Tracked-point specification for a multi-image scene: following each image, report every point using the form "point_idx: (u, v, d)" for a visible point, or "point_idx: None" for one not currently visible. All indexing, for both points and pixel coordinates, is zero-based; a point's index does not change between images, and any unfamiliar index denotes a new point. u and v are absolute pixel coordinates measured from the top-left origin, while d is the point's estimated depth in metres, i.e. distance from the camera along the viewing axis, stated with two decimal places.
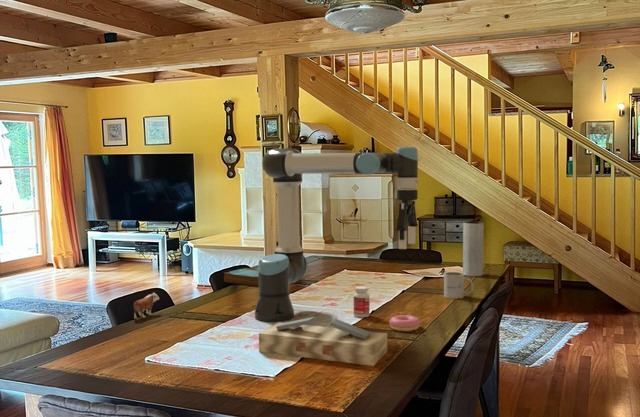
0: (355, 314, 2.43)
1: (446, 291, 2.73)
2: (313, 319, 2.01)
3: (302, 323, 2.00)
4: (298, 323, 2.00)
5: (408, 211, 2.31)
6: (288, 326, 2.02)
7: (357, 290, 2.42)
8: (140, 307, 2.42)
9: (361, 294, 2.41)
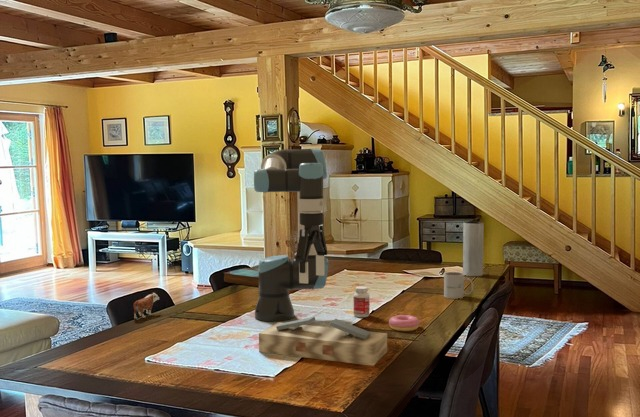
0: (355, 314, 2.43)
1: (446, 291, 2.73)
2: (313, 319, 2.01)
3: (302, 323, 2.00)
4: (298, 323, 2.00)
5: (311, 238, 1.95)
6: (288, 326, 2.02)
7: (357, 290, 2.42)
8: (140, 307, 2.42)
9: (360, 294, 2.41)
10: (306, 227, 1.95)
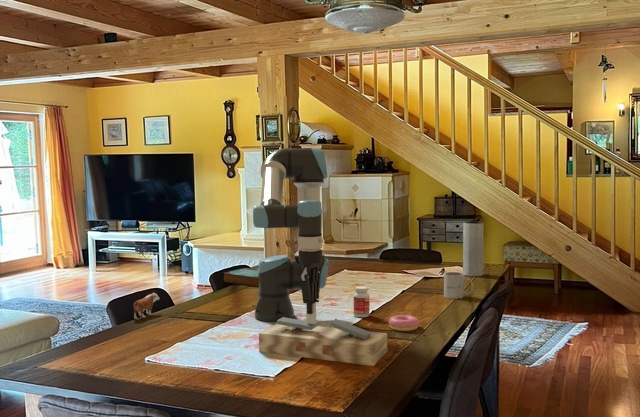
0: (355, 314, 2.43)
1: (446, 291, 2.73)
2: (315, 325, 2.01)
3: (303, 327, 2.00)
4: (299, 325, 2.00)
5: (312, 278, 1.97)
6: (289, 324, 2.01)
7: (357, 290, 2.42)
8: (140, 307, 2.42)
9: (360, 294, 2.41)
10: (305, 265, 1.96)
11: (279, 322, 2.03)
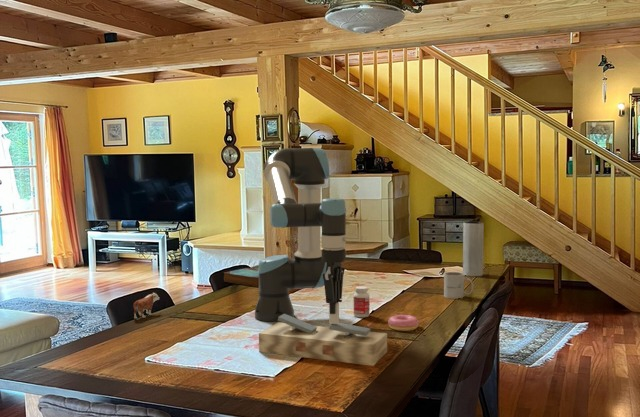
0: (355, 314, 2.43)
1: (446, 291, 2.73)
2: (315, 329, 2.01)
3: (303, 329, 2.00)
4: (300, 327, 2.00)
5: (335, 278, 1.94)
6: (289, 323, 2.01)
7: (357, 290, 2.42)
8: (140, 307, 2.42)
9: (361, 294, 2.41)
10: (328, 264, 1.93)
11: (280, 319, 2.02)
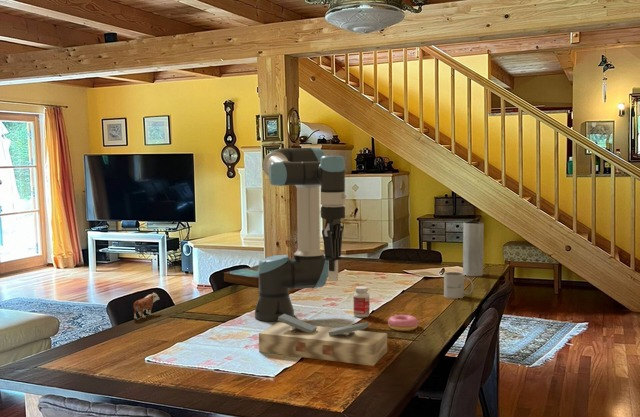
0: (355, 314, 2.43)
1: (446, 291, 2.73)
2: (315, 329, 2.01)
3: (303, 329, 2.00)
4: (300, 327, 2.00)
5: (334, 235, 1.94)
6: (289, 323, 2.01)
7: (357, 290, 2.42)
8: (140, 307, 2.42)
9: (360, 294, 2.41)
10: (327, 221, 1.93)
11: (280, 319, 2.02)
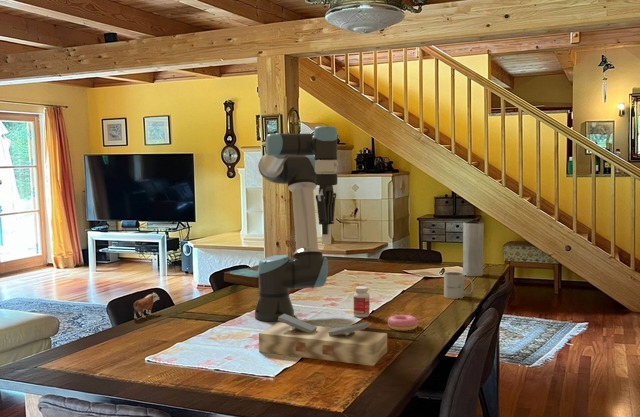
0: (355, 314, 2.43)
1: (446, 291, 2.73)
2: (315, 329, 2.01)
3: (303, 329, 2.00)
4: (300, 327, 2.00)
5: (327, 200, 2.08)
6: (289, 323, 2.01)
7: (357, 290, 2.42)
8: (140, 307, 2.42)
9: (360, 294, 2.41)
10: (321, 187, 2.07)
11: (280, 319, 2.02)
